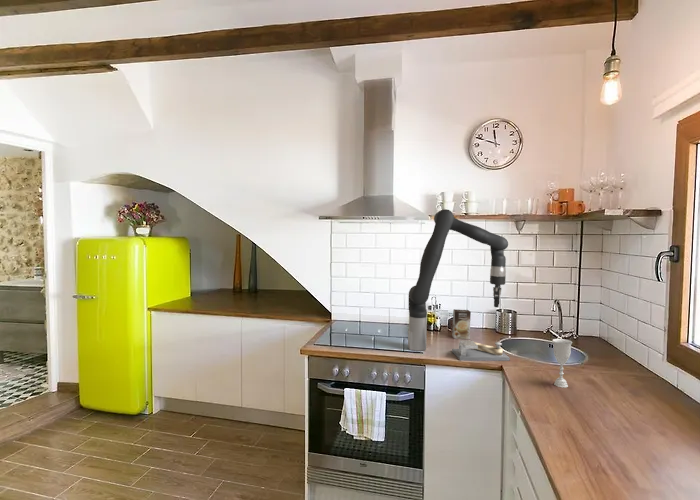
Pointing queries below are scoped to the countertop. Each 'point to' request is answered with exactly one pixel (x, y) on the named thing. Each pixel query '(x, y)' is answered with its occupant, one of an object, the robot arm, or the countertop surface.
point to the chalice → (561, 358)
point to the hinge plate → (481, 355)
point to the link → (489, 349)
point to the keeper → (466, 346)
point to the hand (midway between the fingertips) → (496, 305)
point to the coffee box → (461, 324)
